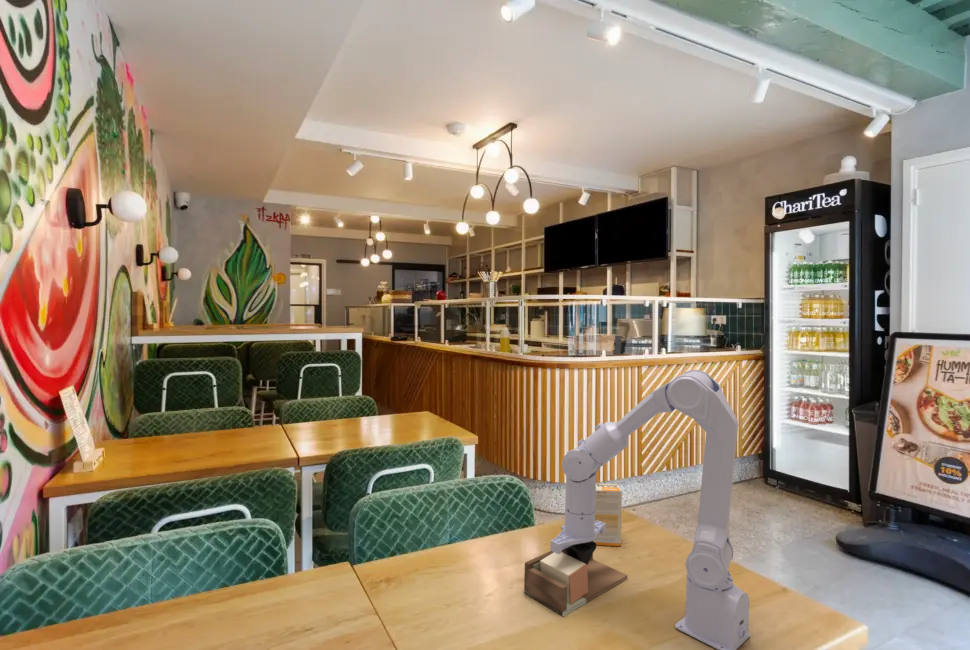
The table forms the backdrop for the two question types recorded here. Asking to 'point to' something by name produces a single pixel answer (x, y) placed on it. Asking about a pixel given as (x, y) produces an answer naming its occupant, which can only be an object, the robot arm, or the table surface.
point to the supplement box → (608, 513)
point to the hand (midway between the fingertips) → (577, 578)
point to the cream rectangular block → (567, 574)
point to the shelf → (556, 592)
